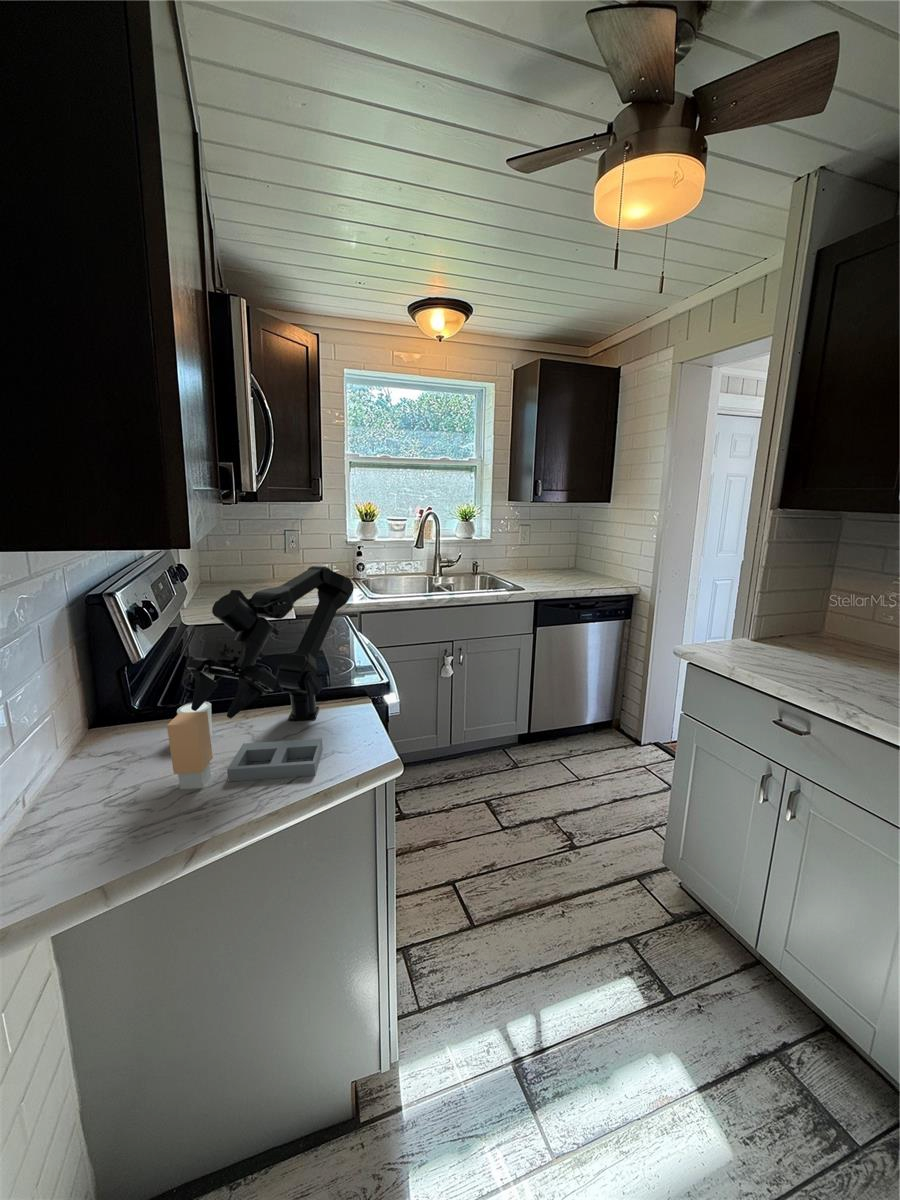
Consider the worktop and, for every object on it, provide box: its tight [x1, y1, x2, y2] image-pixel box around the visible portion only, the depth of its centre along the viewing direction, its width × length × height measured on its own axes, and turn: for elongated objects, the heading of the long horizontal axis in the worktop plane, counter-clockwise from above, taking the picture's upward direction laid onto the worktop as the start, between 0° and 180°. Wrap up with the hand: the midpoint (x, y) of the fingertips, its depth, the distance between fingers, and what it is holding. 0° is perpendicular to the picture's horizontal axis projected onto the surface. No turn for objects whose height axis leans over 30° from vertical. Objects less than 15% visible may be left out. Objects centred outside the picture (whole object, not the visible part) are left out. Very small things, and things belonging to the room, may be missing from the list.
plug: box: [166, 712, 214, 790], centre depth 90 cm, size 5×5×13 cm
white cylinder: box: [176, 701, 213, 737], centre depth 108 cm, size 7×7×7 cm
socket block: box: [226, 738, 324, 783], centre depth 97 cm, size 10×16×2 cm, turn 97°
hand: (210, 713), depth 93 cm, fingers open, 9 cm apart
